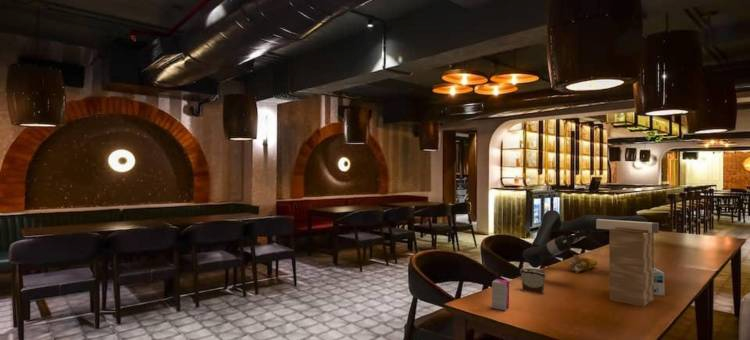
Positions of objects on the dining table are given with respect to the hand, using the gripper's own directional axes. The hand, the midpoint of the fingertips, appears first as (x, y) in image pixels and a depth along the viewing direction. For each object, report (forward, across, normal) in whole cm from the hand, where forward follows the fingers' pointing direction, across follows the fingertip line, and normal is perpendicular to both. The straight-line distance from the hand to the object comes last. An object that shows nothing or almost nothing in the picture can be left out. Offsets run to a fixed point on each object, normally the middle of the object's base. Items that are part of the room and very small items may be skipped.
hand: (587, 231), depth 208 cm
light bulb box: (+5, -17, -35) cm, 39 cm away
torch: (-29, -40, -15) cm, 52 cm away
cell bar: (+16, 0, -6) cm, 17 cm away
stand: (+3, +3, -34) cm, 34 cm away
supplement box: (-25, +56, -18) cm, 64 cm away
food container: (-28, +22, -16) cm, 38 cm away
